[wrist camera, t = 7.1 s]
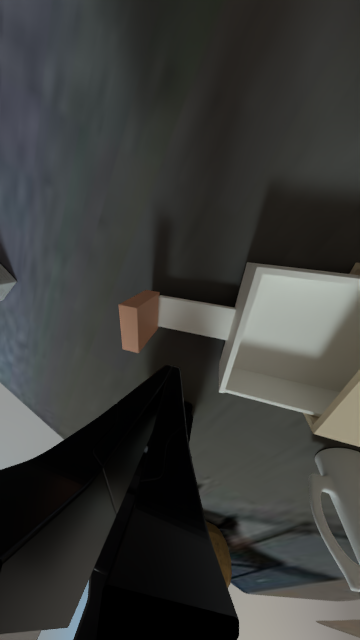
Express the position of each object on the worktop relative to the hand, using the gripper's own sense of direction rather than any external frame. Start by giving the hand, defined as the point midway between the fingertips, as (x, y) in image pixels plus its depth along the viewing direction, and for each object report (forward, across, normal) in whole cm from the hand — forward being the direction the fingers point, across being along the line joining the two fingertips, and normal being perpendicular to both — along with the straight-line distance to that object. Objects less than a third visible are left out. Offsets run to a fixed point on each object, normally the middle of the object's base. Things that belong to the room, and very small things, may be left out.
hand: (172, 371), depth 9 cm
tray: (+9, -7, 0) cm, 11 cm away
